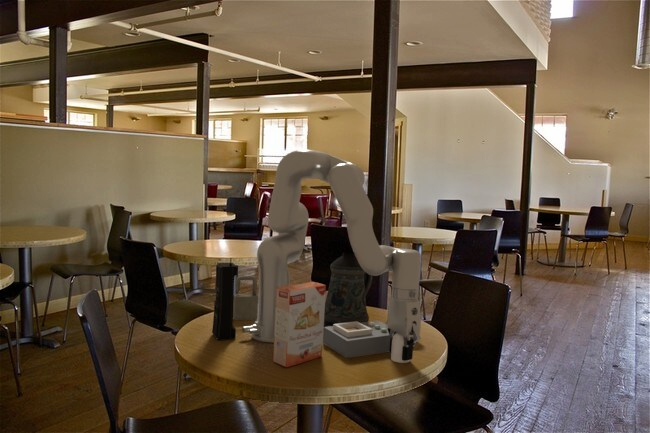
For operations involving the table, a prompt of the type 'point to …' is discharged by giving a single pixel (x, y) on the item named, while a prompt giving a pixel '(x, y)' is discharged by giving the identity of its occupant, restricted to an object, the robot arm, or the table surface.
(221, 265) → the black rectangular column
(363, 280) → the beer stein
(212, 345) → the table surface
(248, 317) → the padlock
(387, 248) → the robot arm
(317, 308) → the cracker box
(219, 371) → the table surface
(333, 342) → the grey button console
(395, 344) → the white domed cylinder
